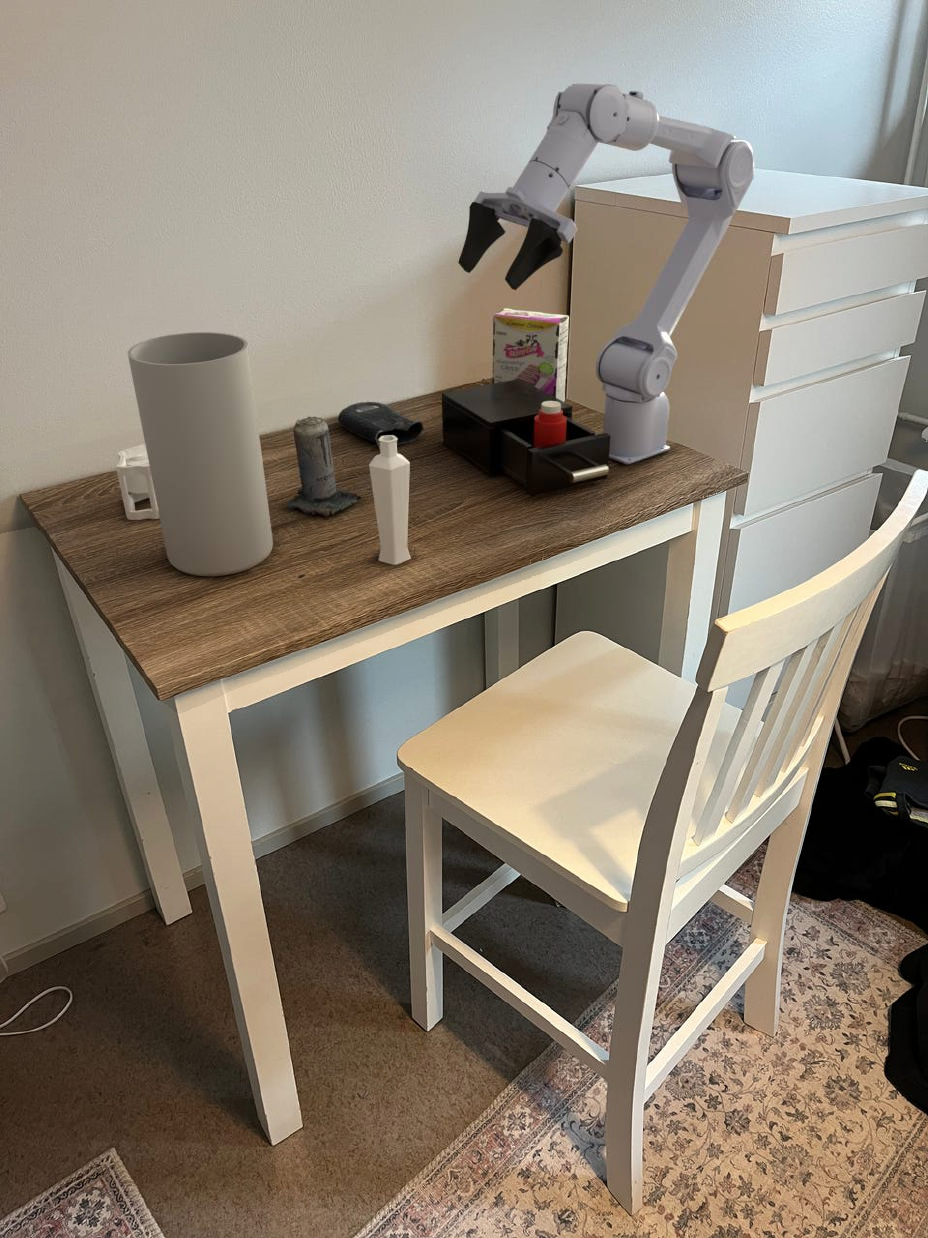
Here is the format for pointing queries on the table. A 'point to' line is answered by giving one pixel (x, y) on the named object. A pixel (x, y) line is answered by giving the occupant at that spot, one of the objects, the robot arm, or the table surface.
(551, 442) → the sauce bottle
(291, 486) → the table surface
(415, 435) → the black crumpled pouch
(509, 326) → the candy bar box
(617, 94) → the robot arm
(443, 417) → the cabinet
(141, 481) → the white hollow box frame
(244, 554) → the cylinder vase
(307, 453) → the beverage can
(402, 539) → the white faceted vase
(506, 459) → the drawer
